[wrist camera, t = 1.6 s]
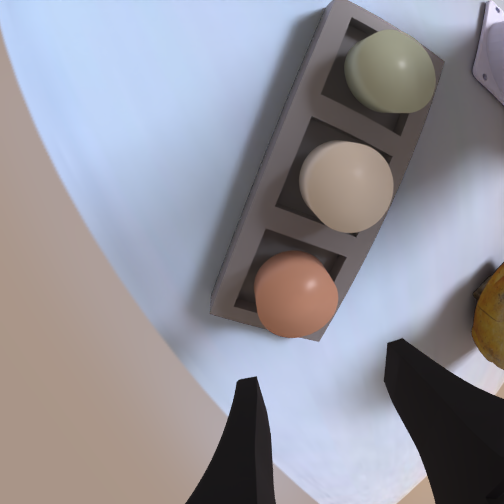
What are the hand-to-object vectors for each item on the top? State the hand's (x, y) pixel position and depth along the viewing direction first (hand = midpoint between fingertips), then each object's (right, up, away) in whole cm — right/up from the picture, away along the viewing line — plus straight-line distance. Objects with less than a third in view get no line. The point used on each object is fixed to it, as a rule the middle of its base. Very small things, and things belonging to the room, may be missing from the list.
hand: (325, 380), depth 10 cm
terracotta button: (0, +3, +7) cm, 7 cm away
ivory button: (+2, +8, +5) cm, 9 cm away
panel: (+1, +9, +7) cm, 11 cm away
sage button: (+4, +13, +2) cm, 14 cm away
